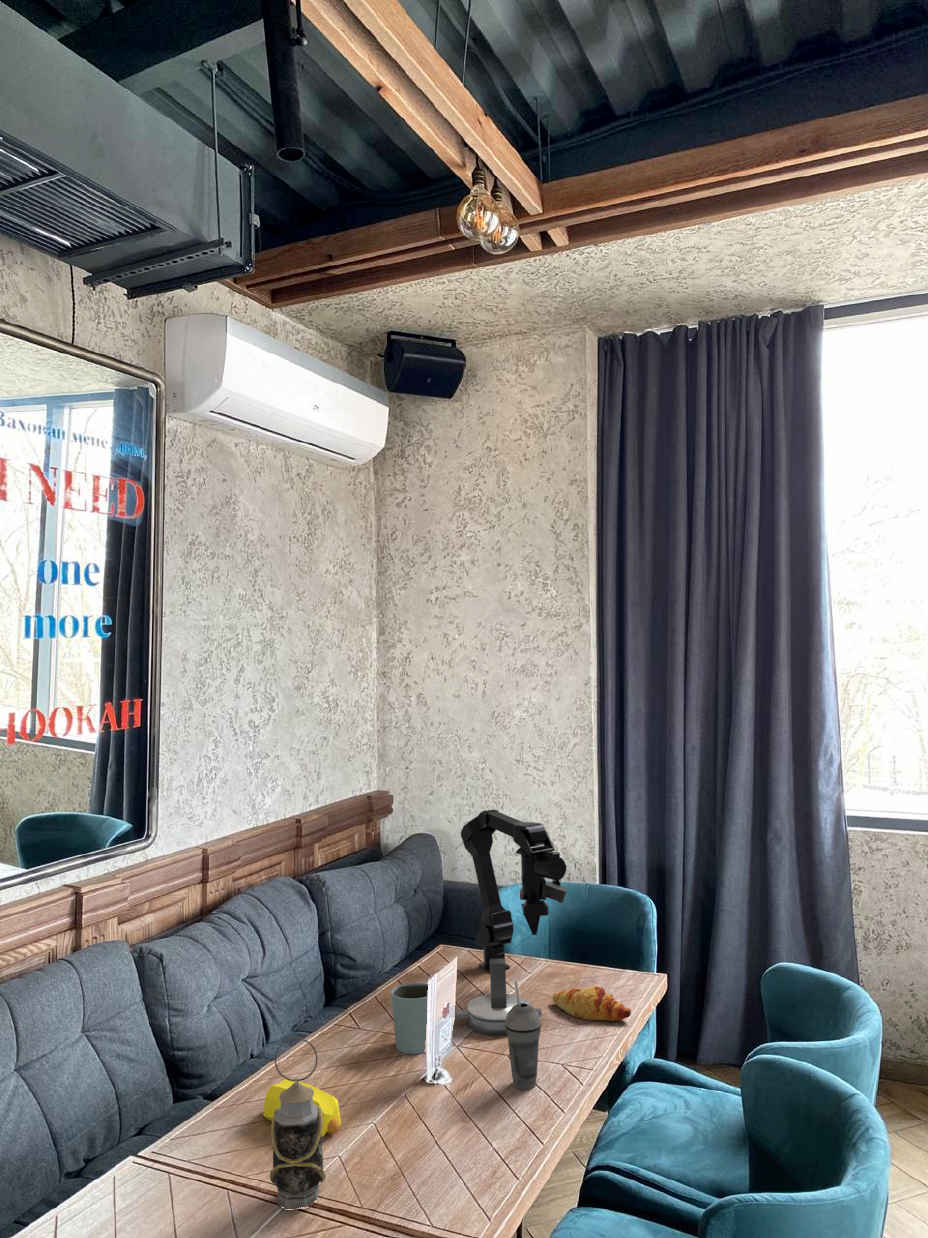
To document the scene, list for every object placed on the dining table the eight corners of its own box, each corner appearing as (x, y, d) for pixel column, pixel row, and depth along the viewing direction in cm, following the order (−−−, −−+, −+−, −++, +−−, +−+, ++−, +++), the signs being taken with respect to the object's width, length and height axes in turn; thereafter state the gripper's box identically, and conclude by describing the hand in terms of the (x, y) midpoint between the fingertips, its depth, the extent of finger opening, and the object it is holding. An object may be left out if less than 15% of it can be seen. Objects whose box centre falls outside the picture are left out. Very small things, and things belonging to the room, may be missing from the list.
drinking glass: (417, 1060, 195) (416, 1002, 196) (382, 1048, 201) (380, 992, 202) (447, 1043, 203) (445, 988, 204) (412, 1033, 209) (411, 979, 210)
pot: (457, 1012, 220) (456, 1000, 220) (539, 1010, 220) (538, 998, 220) (456, 1037, 206) (456, 1023, 206) (544, 1034, 206) (543, 1021, 206)
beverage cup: (540, 1094, 178) (537, 989, 179) (503, 1091, 180) (500, 987, 181) (545, 1077, 185) (542, 976, 186) (509, 1075, 187) (506, 974, 188)
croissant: (547, 1022, 222) (537, 997, 219) (565, 991, 229) (556, 966, 227) (626, 1041, 209) (617, 1014, 207) (643, 1007, 216) (634, 981, 214)
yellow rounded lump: (283, 1103, 178) (252, 1120, 172) (283, 1067, 178) (252, 1083, 172) (352, 1129, 167) (321, 1148, 161) (351, 1092, 168) (321, 1109, 161)
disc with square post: (467, 997, 221) (466, 952, 221) (528, 996, 221) (526, 950, 221) (467, 1021, 206) (466, 972, 207) (532, 1020, 206) (531, 971, 207)
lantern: (329, 1183, 150) (326, 1027, 151) (323, 1213, 142) (319, 1047, 143) (275, 1186, 149) (272, 1029, 150) (266, 1216, 141) (263, 1050, 142)
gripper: (567, 881, 229) (569, 945, 228) (560, 864, 247) (562, 923, 247) (522, 882, 229) (524, 946, 228) (518, 865, 247) (520, 924, 247)
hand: (534, 934), depth 237 cm, fingers closed
